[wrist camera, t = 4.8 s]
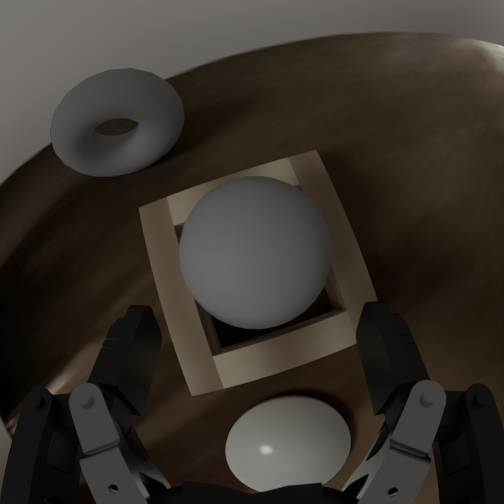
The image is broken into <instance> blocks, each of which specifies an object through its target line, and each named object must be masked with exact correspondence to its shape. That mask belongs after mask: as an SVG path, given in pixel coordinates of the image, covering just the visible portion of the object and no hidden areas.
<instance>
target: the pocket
mask: <svg viewBox="0 0 504 504" xmlns="http://www.w3.org/2000/svg"><path fill="white" fill-rule="evenodd" d="M246 176H264V177H270V178H276V179H278V180H281V181H284V182H286V183H289V184H291V185H292V186H294V187H295V188H297V189H299V190H300V191H302V192H303V193H304V194H305V195H306V196H307V197H308V198H309V199H310V200H311V201H312V202H313V203H314V205H315V206H316V207H317V209H318V210H319V211H320V213H321V214H322V216H323V218H324V221H325V223H326V225H327V227H328V231H329V235H330V239H331V249H332V258H331V264H330V271H329V274H328V277H327V280H326V282H325V285H324V286H325V288H326V291H327V294H328V297H329V300H330V303H331V306H332V309H333V311H330V312H327V313H325V314H322V315H320V316H317V317H314V318H312V319H309V320H306V321H303V322H301V323H298V324H295V325H292V326H289V327H286V328H283V329H280V330H278V331H275V332H272V333H269V334H266V335H262V336H259V337H256V338H253V339H250V340H247V341H243V342H240V343H237V344H234V345H230V346H227V347H223V348H222V347H221V344H220V341H219V338H218V335H217V332H216V329H215V326H214V323H213V320H212V317H211V314H210V313H208V312H207V311H205V310H204V309H203V307H202V306H201V305H200V304H199V303H198V302H197V301H196V300H195V299H194V297H193V295H192V294H191V292H190V290H189V289H188V287H187V285H186V283H185V280H184V277H183V275H182V272H181V267H180V260H179V247H180V239H181V235H182V231H183V227H184V224H185V222H186V220H187V218H188V216H189V214H190V212H191V211H192V209H193V208H194V207H195V205H196V204H197V203H198V201H199V200H200V199H201V198H202V197H203V196H205V195H206V194H207V193H208V192H209V191H210V190H212V189H214V188H215V187H217V186H218V185H220V184H222V183H225V182H227V181H230V180H232V179H236V178H241V177H246ZM139 212H140V217H141V222H142V227H143V232H144V237H145V241H146V246H147V250H148V254H149V259H150V263H151V267H152V271H153V275H154V279H155V283H156V287H157V290H158V294H159V298H160V301H161V305H162V308H163V312H164V315H165V319H166V322H167V325H168V329H169V332H170V335H171V338H172V341H173V344H174V347H175V350H176V353H177V356H178V359H179V362H180V365H181V368H182V371H183V374H184V376H185V379H186V382H187V384H188V387H189V390H190V392H191V395H192V396H194V395H199V394H203V393H208V392H212V391H216V390H220V389H224V388H228V387H232V386H235V385H239V384H243V383H246V382H250V381H253V380H257V379H260V378H263V377H266V376H270V375H273V374H276V373H279V372H282V371H285V370H288V369H291V368H294V367H297V366H300V365H303V364H305V363H308V362H311V361H314V360H316V359H319V358H321V357H324V356H327V355H329V354H332V353H334V352H337V351H339V350H342V349H344V348H347V347H349V346H351V345H354V344H356V343H357V342H356V329H357V326H358V322H359V319H360V316H361V313H362V309H363V306H364V304H365V302H371V301H378V300H377V296H376V293H375V290H374V287H373V284H372V282H371V279H370V276H369V273H368V270H367V267H366V265H365V262H364V259H363V256H362V254H361V251H360V248H359V246H358V243H357V241H356V238H355V236H354V233H353V231H352V228H351V226H350V223H349V221H348V218H347V216H346V214H345V211H344V209H343V206H342V204H341V202H340V200H339V197H338V195H337V193H336V191H335V188H334V186H333V184H332V182H331V180H330V177H329V175H328V173H327V171H326V169H325V167H324V165H323V163H322V161H321V159H320V157H319V155H318V152H317V150H314V151H310V152H306V153H302V154H298V155H295V156H291V157H287V158H284V159H280V160H277V161H273V162H270V163H266V164H263V165H260V166H256V167H253V168H250V169H246V170H243V171H240V172H237V173H234V174H231V175H228V176H224V177H221V178H218V179H215V180H213V181H210V182H207V183H204V184H201V185H198V186H195V187H192V188H190V189H187V190H184V191H181V192H179V193H176V194H173V195H171V196H168V197H165V198H163V199H160V200H158V201H155V202H152V203H150V204H147V205H145V206H142V207H140V208H139Z"/></svg>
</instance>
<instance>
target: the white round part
mask: <svg viewBox="0 0 504 504" xmlns="http://www.w3.org/2000/svg"><path fill="white" fill-rule="evenodd" d="M350 446H351V436H350V431H349V429H348V426H347V424H346V422H345V421H344V419H343V418H342V416H341V415H340V414H339V413H338V411H337V410H335V409H334V408H333V407H332V406H331V405H329V404H327V403H326V402H324V401H322V400H319V399H317V398H313V397H309V396H304V395H283V396H277V397H273V398H269V399H267V400H264V401H261V402H259V403H257V404H255V405H254V406H252V407H250V408H249V409H247V410H246V411H245V412H244V413H243V414H242V415H241V416H240V417H239V418H238V419H237V420H236V421H235V423H234V424H233V426H232V428H231V430H230V432H229V436H228V439H227V442H226V458H227V462H228V465H229V467H230V469H231V470H232V472H233V473H234V475H235V476H236V477H237V478H238V479H239V480H240V481H241V482H243V483H244V484H245V485H247V486H249V487H251V488H252V489H255V490H257V491H260V492H264V491H268V490H272V489H276V488H280V487H284V486H287V485H300V484H311V483H320V482H322V484H324V483H326V482H327V481H328V480H330V479H331V478H332V477H333V476H334V475H336V474H337V473H338V471H339V470H340V469H341V468H342V466H343V465H344V463H345V461H346V459H347V457H348V455H349V451H350Z"/></svg>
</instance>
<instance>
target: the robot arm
mask: <svg viewBox="0 0 504 504" xmlns="http://www.w3.org/2000/svg"><path fill="white" fill-rule="evenodd" d="M356 342H357V346H358V350H359V354H360V357H361V361H362V365H363V369H364V373H365V377H366V381H367V385H368V389H369V393H370V397H371V402H372V406H373V410H374V415H380V414H384V415H385V422H384V423H383V425H382V427H381V429H380V431H379V433H378V435H377V437H376V439H375V441H374V442H373V444H372V446H371V448H370V450H369V451H368V453H367V455H366V456H365V458H364V460H363V461H362V463H361V464H360V466H359V467H358V468H357V469H356V470H355V472H354V473H353V474H352V476H351V477H350V478H349V480H348V481H347V483H346V484H345V486H344V487H343V489H342V490H341V491H340V490H337V489H334V488H329V487H323V486H322V482H320V483H311V484H300V485H287V486H284V487H280V488H276V489H272V490H268V491H264V492H259V493H254V494H250V493H245V492H241V491H237V490H234V489H230V488H226V487H223V486H220V485H216V484H205V483H196V482H188V481H184V483H183V485H182V486H176V487H170V485H169V484H168V482H167V481H166V479H165V478H164V476H163V475H162V473H161V472H160V471H159V470H158V468H157V467H156V466H155V465H154V464H153V462H152V461H151V459H150V457H149V456H148V454H147V452H146V450H145V448H144V446H143V444H142V443H141V441H140V439H139V437H138V435H137V433H136V431H135V429H134V426H133V424H132V423H131V420H132V416H133V415H137V416H143V413H144V409H145V405H146V401H147V397H148V393H149V389H150V385H151V381H152V377H153V374H154V370H155V366H156V363H157V359H158V356H159V352H160V349H161V344H162V335H161V331H160V328H159V326H158V323H157V321H156V318H155V316H154V313H153V311H152V308H151V307H150V306H142V305H131V306H130V307H129V308H128V310H127V312H126V315H125V317H124V318H119V319H118V320H117V321H116V322H115V323H114V324H113V325H112V326H111V327H110V329H109V332H108V334H107V336H106V340H105V341H104V343H103V345H102V349H101V350H100V352H99V355H98V357H97V359H96V362H95V364H94V367H93V369H92V372H91V374H90V377H89V379H88V381H87V383H84V384H81V385H79V386H77V387H76V388H75V389H74V390H73V391H72V393H70V394H58V395H52V394H51V393H50V392H49V391H48V390H47V389H46V388H44V387H37V388H34V389H33V390H31V391H30V392H29V394H28V395H27V397H26V400H25V403H24V405H23V408H22V411H21V414H20V417H19V420H18V423H17V426H16V430H15V433H14V437H13V440H12V444H11V448H10V451H9V455H8V460H7V464H6V469H5V474H4V479H3V484H2V491H1V497H0V504H76V501H77V494H78V487H79V480H80V474H81V468H82V471H83V473H84V476H85V478H86V481H87V483H88V486H89V488H90V490H91V492H92V495H93V497H94V499H95V501H96V503H97V504H412V503H413V502H414V500H415V498H416V496H417V494H418V492H419V490H420V488H421V486H422V484H423V482H424V479H425V477H426V475H427V473H428V471H429V468H430V465H431V458H429V456H428V455H429V451H430V448H431V446H432V448H433V453H434V459H435V466H436V473H437V480H438V489H439V499H440V504H504V430H503V426H502V422H501V419H500V416H499V412H498V409H497V406H496V403H495V400H494V397H493V394H492V392H491V391H490V389H489V388H488V387H487V386H485V385H483V384H480V383H477V384H473V385H472V386H470V387H469V388H468V389H467V390H466V391H465V392H462V391H447V390H444V389H443V388H442V387H441V386H440V385H439V384H438V383H436V382H434V381H431V379H430V378H429V376H428V373H427V370H426V368H425V365H424V363H423V360H422V358H421V355H420V353H419V350H418V348H417V345H416V344H415V341H414V338H413V336H412V335H411V332H410V329H409V327H408V325H407V323H406V321H405V320H404V319H403V318H402V317H401V316H400V315H399V314H398V313H391V311H390V309H389V307H388V304H387V302H386V301H384V300H383V301H371V302H365V304H364V306H363V309H362V313H361V316H360V319H359V322H358V326H357V329H356ZM52 434H54V439H53V442H52V446H51V451H50V455H49V459H48V462H47V454H48V450H49V446H50V442H51V438H52ZM389 494H390V495H389ZM388 495H389V496H388Z"/></svg>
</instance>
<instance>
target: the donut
mask: <svg viewBox="0 0 504 504" xmlns="http://www.w3.org/2000/svg"><path fill="white" fill-rule="evenodd" d="M116 118H127V119H132V120H134V121H136V122H138V123H139V124H138V126H137V127H135V128H134V129H133V130H131V131H130V132H128V133H124V134H121V135H115V136H107V135H102V134H99V133H98V132H96V131H95V128H96V127H97V126H99V125H100V124H102V123H103V122H105V121H108V120H111V119H116ZM183 125H184V110H183V102H182V100H181V98H180V97H179V95H178V94H177V92H176V91H175V89H174V88H173V86H172V85H171V84H169V83H168V82H166V81H165V80H163V79H162V78H160V77H158V76H156V75H155V74H153V73H150V72H146V71H141V70H137V69H132V68H130V69H115V70H108V71H105V72H102V73H99V74H97V75H94V76H91V77H89V78H87V79H86V80H84V81H83V82H81V83H80V84H78V85H77V86H76V87H74V88H73V89H72V90H70V91H69V92H68V93H67V94H66V95H65V97H64V98H63V100H62V101H61V103H60V104H59V106H58V107H57V109H56V111H55V113H54V116H53V121H52V125H51V131H50V133H51V140H52V144H53V148H54V151H55V152H56V154H57V155H58V157H59V158H60V159H61V160H62V161H63V163H64V164H65V165H67V166H69V167H71V168H72V169H74V170H76V171H78V172H79V173H83V174H87V175H91V176H102V177H111V176H118V175H126V174H129V173H132V172H135V171H139V170H141V169H143V168H145V167H147V166H149V165H151V164H153V163H155V162H156V161H158V160H159V159H160V158H161V157H163V156H164V155H165V154H167V153H168V152H169V151H170V150H171V148H172V147H173V146H174V144H175V143H176V142H177V140H178V139H179V137H180V134H181V131H182V128H183Z"/></svg>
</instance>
